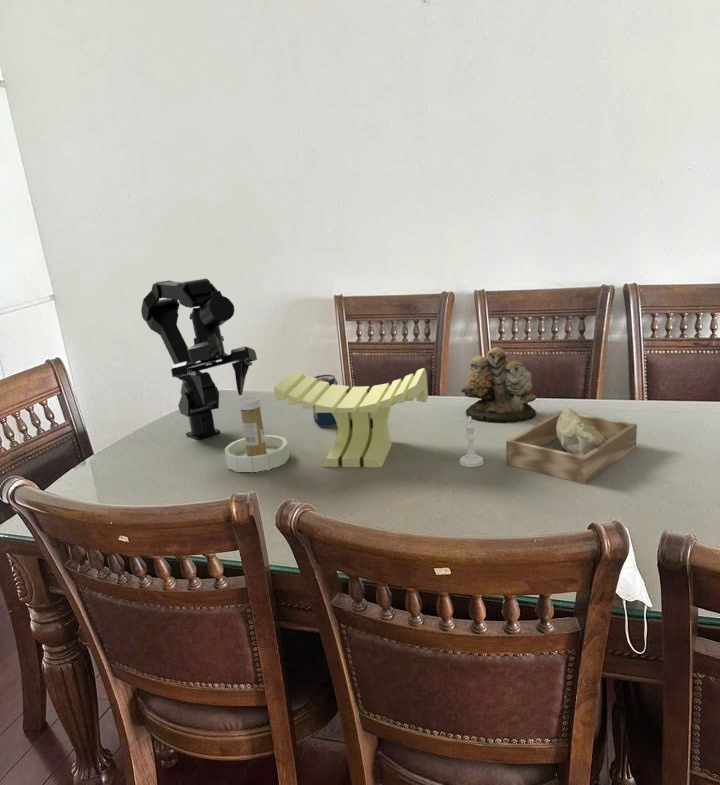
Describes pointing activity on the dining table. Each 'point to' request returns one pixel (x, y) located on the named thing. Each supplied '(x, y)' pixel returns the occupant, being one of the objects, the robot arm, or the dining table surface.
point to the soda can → (325, 418)
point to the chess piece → (471, 448)
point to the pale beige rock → (577, 433)
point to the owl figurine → (499, 389)
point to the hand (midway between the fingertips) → (221, 399)
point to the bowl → (244, 463)
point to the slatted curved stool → (354, 413)
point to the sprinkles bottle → (252, 426)
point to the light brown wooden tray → (565, 465)
